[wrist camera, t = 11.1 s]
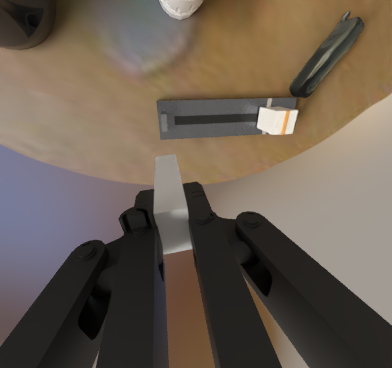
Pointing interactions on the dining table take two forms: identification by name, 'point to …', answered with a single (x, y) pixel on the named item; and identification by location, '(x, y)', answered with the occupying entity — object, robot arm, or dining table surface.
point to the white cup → (180, 7)
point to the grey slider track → (214, 116)
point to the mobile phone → (327, 56)
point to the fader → (277, 120)
